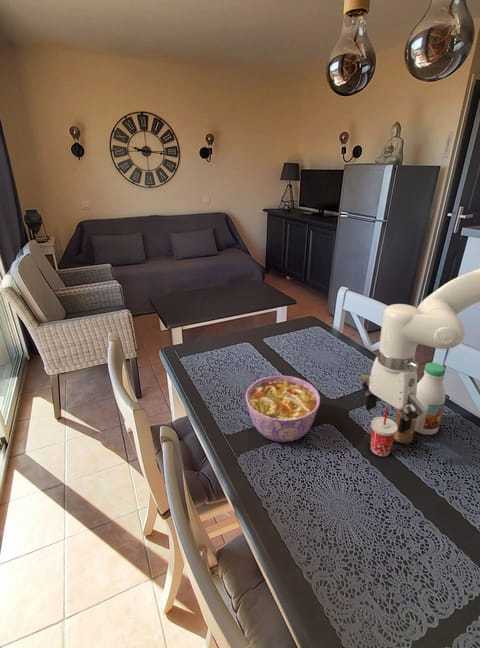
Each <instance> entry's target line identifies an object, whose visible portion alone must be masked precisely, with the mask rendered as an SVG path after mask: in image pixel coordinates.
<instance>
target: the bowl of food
mask: <svg viewBox="0 0 480 648" xmlns="http://www.w3.org/2000/svg"><path fill="white" fill-rule="evenodd" d="M244 397H245V402H246V407H247V409H248V412H249V416H250V419H251V421H252V423H253V426H254V427H255V429H256V430H257V431H258V433H260V434H261V435H262V436H263V437H265V438H266V439H269V440H271V441H274V442H278V443H279V442H281V443H288V442H289V443H290V442H293V441H296V440H298V439H301V438H302V437H303V436H305V435H306V434H307V433H308V432H309V430H310V429H311V427H312V425H313V423H314V420H315V418H316V416H317V412H318V411H319V407H320V404H321V396H320V394H319V391H318V389H317V388H315V386H313V385H312V384H311V383H309V382H308V381H306V380H304V379H301V378H298V377H296V376H292V375H282V374H281V375H270V376H266V377H262V378H260V379H258V380H256V381H254V382H253V383H252V384H251V385H250V386H249V387H248V388H247V390H246V392H245V395H244Z"/></svg>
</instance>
